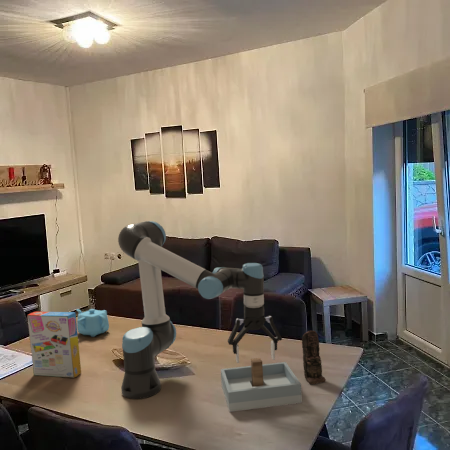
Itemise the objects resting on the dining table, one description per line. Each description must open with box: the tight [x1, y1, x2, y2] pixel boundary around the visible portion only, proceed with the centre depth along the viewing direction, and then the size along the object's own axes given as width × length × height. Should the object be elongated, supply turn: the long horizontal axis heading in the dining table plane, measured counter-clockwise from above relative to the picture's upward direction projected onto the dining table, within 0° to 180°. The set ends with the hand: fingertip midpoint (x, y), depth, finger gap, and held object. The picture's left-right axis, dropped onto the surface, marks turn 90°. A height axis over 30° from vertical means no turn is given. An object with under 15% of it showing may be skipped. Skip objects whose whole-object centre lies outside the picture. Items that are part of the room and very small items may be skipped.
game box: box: [26, 311, 82, 379], centre depth 197 cm, size 21×6×27 cm, turn 74°
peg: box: [250, 357, 263, 387], centre depth 172 cm, size 4×4×12 cm
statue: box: [301, 330, 326, 385], centre depth 178 cm, size 7×7×20 cm
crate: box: [220, 361, 303, 413], centre depth 169 cm, size 26×20×7 cm
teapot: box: [75, 308, 110, 338], centre depth 250 cm, size 18×16×14 cm
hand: (255, 360), depth 172 cm, fingers open, 13 cm apart
